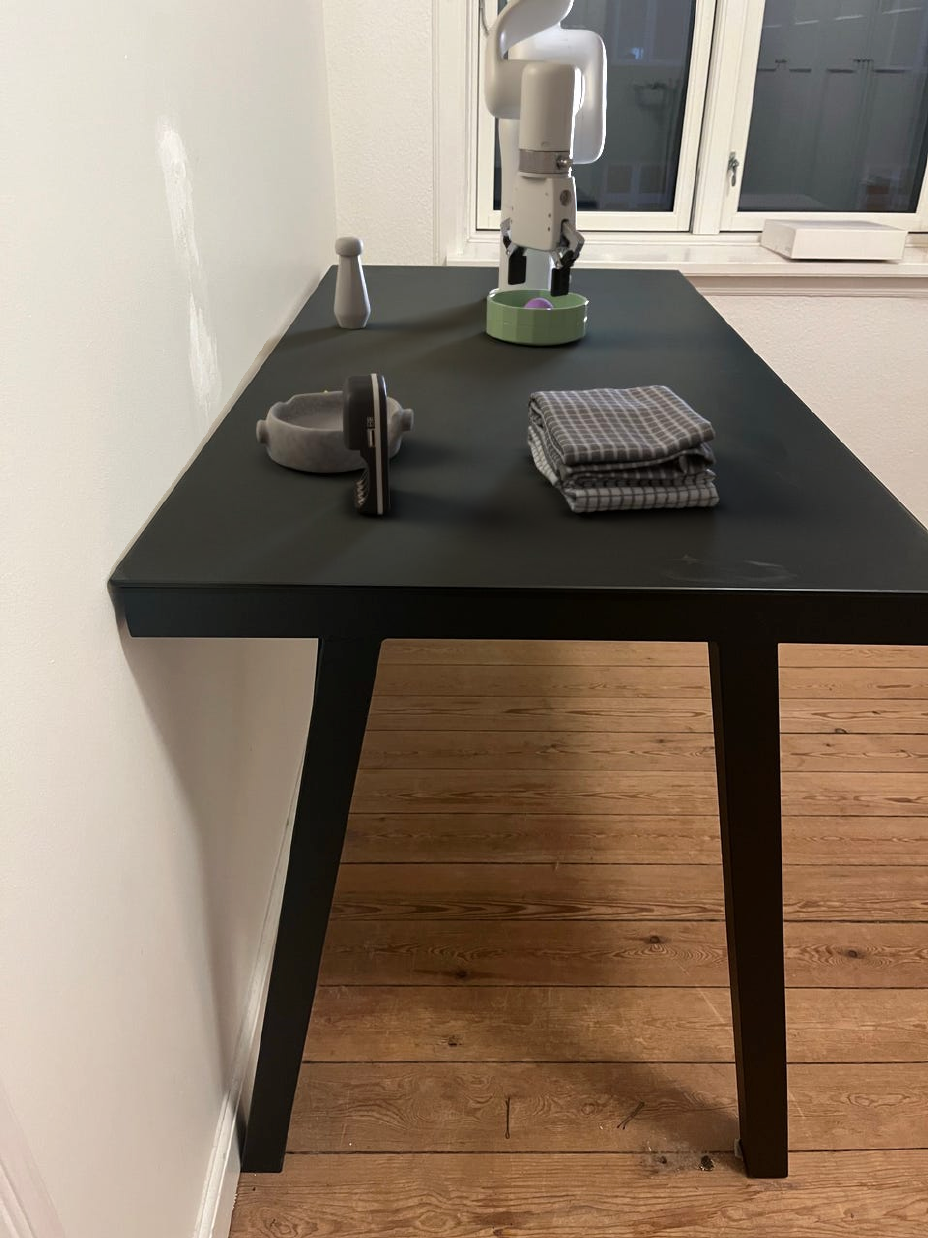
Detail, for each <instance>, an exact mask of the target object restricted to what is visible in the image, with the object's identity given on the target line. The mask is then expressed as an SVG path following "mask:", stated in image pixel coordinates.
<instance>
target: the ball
mask: <svg viewBox="0 0 928 1238" xmlns="http://www.w3.org/2000/svg"><path fill="white" fill-rule="evenodd" d="M524 308H533V309H554V308H553V306H552V305H551V304H550V302H548V301H547V300H545V299H542V298H536V299H533V300H531V301H529V302H528V303H527V304H526V305H525V307H524Z"/></svg>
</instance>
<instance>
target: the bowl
mask: <svg viewBox="0 0 928 1238" xmlns="http://www.w3.org/2000/svg"><path fill="white" fill-rule="evenodd" d="M536 298H542V299H545V300H547V301H548V302H550V304H551V305H552V306H553V308H554V309H533V308H524V307H525V305H526V304H527V303H528V302H529V301H531V300H533V299H536ZM588 306H589V300H588V299H587V297H585V296H583V295H581V294H577V293H574V292H570V291H569V293H568V295H564V296H558V297H552V296H551V295H550V290H546V289H513V290H505V291H498V292H495V293H491V294H490V293H489V294H488V295H487V296H486V311H485V315H486V316H485V331H486V334H488V335H489V336H490V337H492V338H496V339H499V340H501V341H504V342H506V343H509V344H511V343H512V344H516V345H523V346H556V345H563V344H567V343H570V342H574V341H577V340H579V339H582V338H584V336H585V335H586V330H587V319H588V318H587V317H588Z"/></svg>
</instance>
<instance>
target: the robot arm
mask: <svg viewBox="0 0 928 1238" xmlns="http://www.w3.org/2000/svg"><path fill="white" fill-rule="evenodd" d="M506 2H507V3H506V5H505V6H504V7H503V8H502V10H501V11H500V12H499V14H498V15H497V16H496V18H495V20H494V22H493V23H492V25H491V27H490V30H489V32H488V35H487V39H486V41H485V49H484V73H483V74H484V78H483V79H484V84H483V85H484V86H483V92H484V102H485V107H486V109H487V111H488V113H489V114H490V115H491V116H492V117H494V118H496V119H498V140H499V150H500V162H501V163H500V164H501V199H500V200H501V202H500V203H501V204H500V224H499V229H500V230H499V231H500V232H499V233H500V235H499V257H498V258H499V261H498V288H494V289H492V290H491V291H489V295H490V294H491V293H495V292H498V291H505V290H513V289H546V290H550V295H551V296H552V297H558V296H564V295H568V293H569V292H570V284H571V283H572V279H573V278H572V275H571V268H573V267H574V266H575V263H576V261H578V259H579V257H580V255H581V254H580V253H581V251H582V250H583V247H584V245H585V241H586V239H585V238H584V236H583V235H582V234H581V233H580V232H579V231H578V230H577V191H576V183H575V176H572V175H571V173H572V172H571V171H572V168H573V166H574V165H585V164H592V163H594V162H596V161H597V160H598V159H599V158H600V157H601V155H602V153H603V150H604V146H605V139H606V119H607V118H606V117H607V116H606V115H607V114H606V112H607V111H606V110H607V53H606V47H605V43H604V40H603V39H602V37H601V36H600V34H599V33H597V32H595V31H592V30H587V29H569V28H568V29H567V28H562V27H561V22H562V21H563V20H564V19H565V18H566V17H567V16H568V14H570V11H571V9H572V7H573V2H574V0H506ZM506 53H507V59H506V58H504V55H505V54H506ZM561 255H562V256H561Z"/></svg>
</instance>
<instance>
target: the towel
mask: <svg viewBox="0 0 928 1238" xmlns="http://www.w3.org/2000/svg"><path fill="white" fill-rule="evenodd" d="M526 411H527V413H528V414H527V420H528V421H529V424H530V425H529V426H528V427H527V429H526V430H527V437H526V443H527V445H528V447H529V448H530V451H531V454H532V457H533V462H534V464H535V466H536V468H537V470H538V471H539V472H540V473H541V474H542V475H543V476H544V477H546V478H547V479H548V481H549V482H550V483H551V485H552V486H553V487H554V488H555V489H557V490H559V492H560V493H561V495H563V497H564V499H565V501H566V502H567V504H568V507H570V509H571V511H572V512H573V513H578V514H579V513H583V512H585V513H593V512H605V511H607V510H608V511H616V510H620V511H627V510H640V509H642V510H649V509H652V508H653V509H654V508H655V509H661V508H667V509H672V508H675V509H683V508H684V507H685V508H686V507H689V508H692V507H702V508H704V507H705V508H706V507H714V506H715V505H717V504H718V503H719V501H720V497H719V494H718V492H717V489H716V486H715V485H714V483H713V481H715V479H717V475H716V473H715V472H714V471H712V470H710V469H711V468H713V467H714V466H715V465H716V463H717V461H716V457H715V455H714V451H713V449H712V448H711V447H709V445H708V444H707V443H708V442H711V441H713V440H714V439H716V438H717V437H718V432H717V431H716V430H715V429H713V426H712V422H711V421H709V420H707V419H705V417H703V416H702V415H700V414H699V413H698V412H696V411H695V410H694V409H693V408H692V407H691V405H689V404H688V402H686V400H684V399H682V398H681V397H680V396H678V395H677V394H676V393H675V392H673V390H672V389H671V388H670V387H668V386H666V385H658V384H657V385H656V384H652V385H649V386H637V387H629V388H626V389H624V388H616V389H614V388H611V387H609V388H607V387H606V388H594V389H584V390H560V391H559V390H550V391H547V390H541V391H535V392H532V393H530V394H529V396H528V400H527V404H526Z"/></svg>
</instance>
